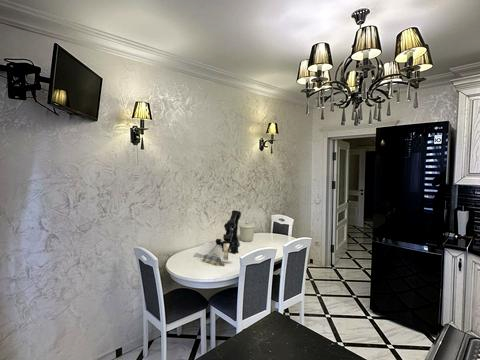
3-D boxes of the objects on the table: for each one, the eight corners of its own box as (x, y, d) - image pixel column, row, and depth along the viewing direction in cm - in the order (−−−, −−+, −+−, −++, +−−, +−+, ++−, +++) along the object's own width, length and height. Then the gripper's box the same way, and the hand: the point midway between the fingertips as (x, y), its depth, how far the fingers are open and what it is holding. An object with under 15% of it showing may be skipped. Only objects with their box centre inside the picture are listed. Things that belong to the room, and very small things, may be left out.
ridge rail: (202, 261, 223) (202, 255, 223) (207, 259, 228) (207, 253, 228) (217, 265, 214) (217, 259, 214) (221, 263, 219) (221, 257, 219)
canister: (255, 238, 295) (255, 219, 294) (254, 243, 277) (255, 223, 276) (239, 237, 297) (239, 219, 296) (237, 242, 279) (238, 222, 278)
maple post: (226, 258, 217) (226, 242, 216) (229, 259, 214) (229, 243, 213) (222, 259, 214) (222, 243, 213) (225, 260, 211) (225, 244, 210)
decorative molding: (215, 249, 266) (206, 245, 267) (216, 244, 265) (207, 241, 267) (204, 261, 232) (194, 257, 234) (206, 256, 232) (195, 252, 233)
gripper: (216, 229, 218) (212, 246, 208) (238, 230, 215) (235, 248, 204) (218, 236, 226) (215, 252, 216) (240, 237, 223) (237, 254, 213)
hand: (225, 251), depth 212 cm, fingers closed on maple post, 4 cm apart
